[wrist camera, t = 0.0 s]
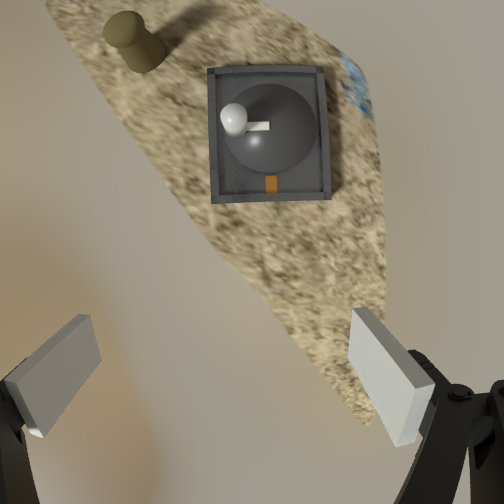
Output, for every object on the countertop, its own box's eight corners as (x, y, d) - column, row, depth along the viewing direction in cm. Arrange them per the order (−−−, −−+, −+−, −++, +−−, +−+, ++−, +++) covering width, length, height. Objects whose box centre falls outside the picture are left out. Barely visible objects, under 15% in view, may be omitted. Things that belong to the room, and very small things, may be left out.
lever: (309, 91, 35) (325, 66, 26) (314, 172, 37) (333, 168, 29) (223, 92, 35) (217, 67, 26) (226, 175, 37) (220, 171, 29)
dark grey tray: (210, 75, 37) (207, 68, 34) (318, 74, 37) (323, 66, 34) (214, 202, 40) (211, 203, 37) (325, 199, 40) (331, 200, 37)
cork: (168, 37, 35) (147, 0, 24) (162, 71, 36) (137, 39, 25) (130, 41, 35) (102, 9, 24) (124, 75, 36) (91, 48, 25)
